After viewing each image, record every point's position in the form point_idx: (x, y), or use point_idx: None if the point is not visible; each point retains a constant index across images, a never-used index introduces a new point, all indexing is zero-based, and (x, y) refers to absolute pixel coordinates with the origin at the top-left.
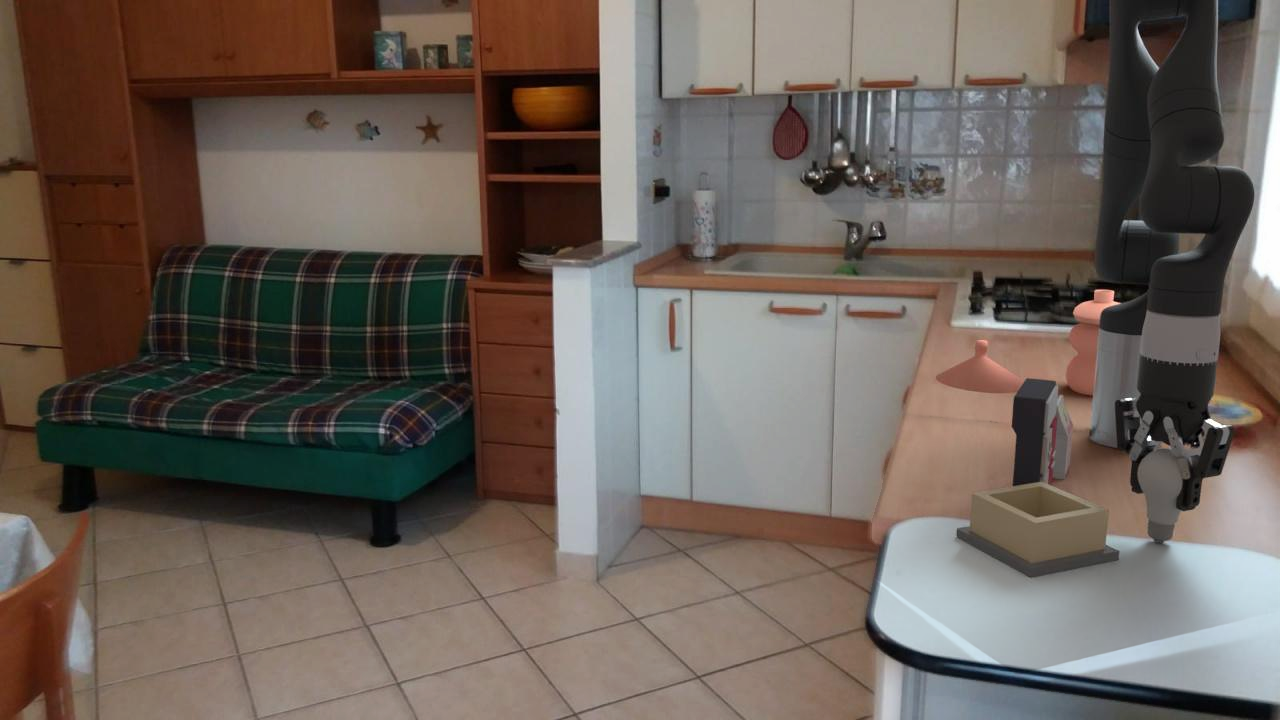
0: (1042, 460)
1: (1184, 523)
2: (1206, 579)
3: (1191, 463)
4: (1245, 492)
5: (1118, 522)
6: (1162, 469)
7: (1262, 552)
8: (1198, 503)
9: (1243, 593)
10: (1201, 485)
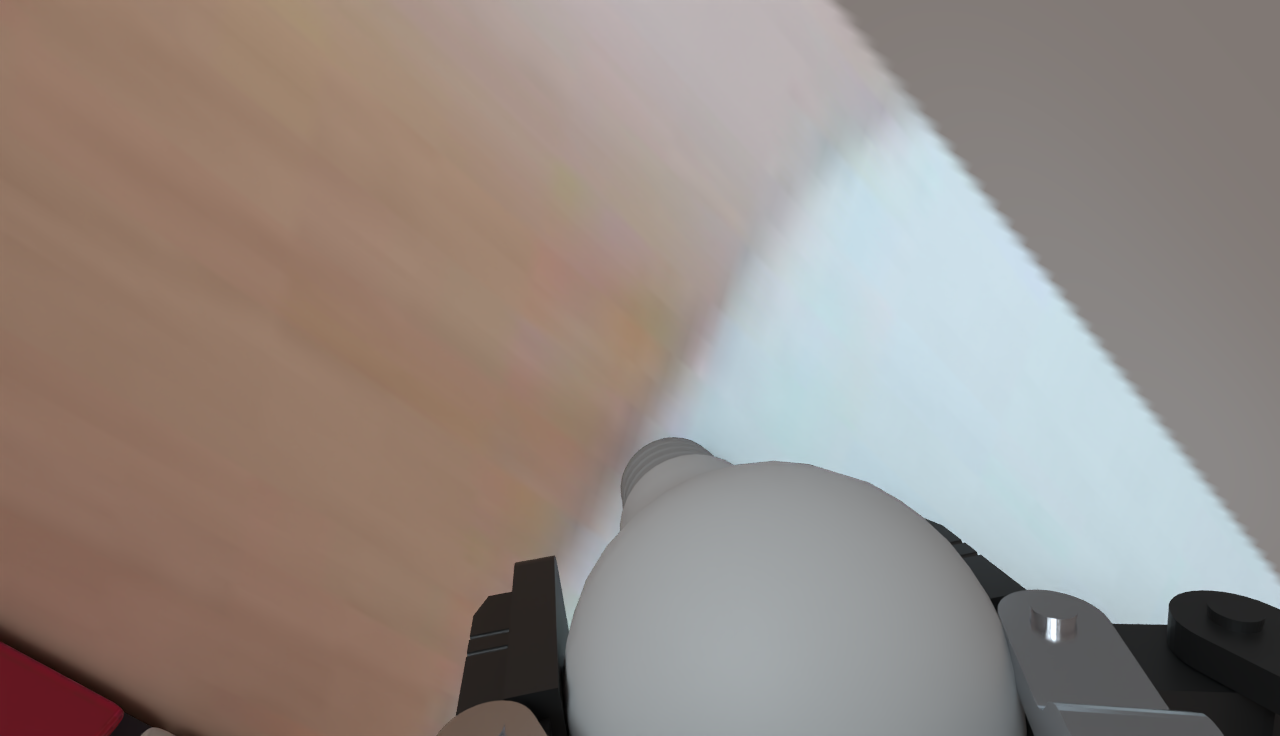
0: None
1: (488, 189)
2: (990, 531)
3: (1017, 703)
4: None
5: (408, 492)
6: None
7: (884, 113)
8: (934, 526)
9: (1111, 491)
10: (1020, 586)
